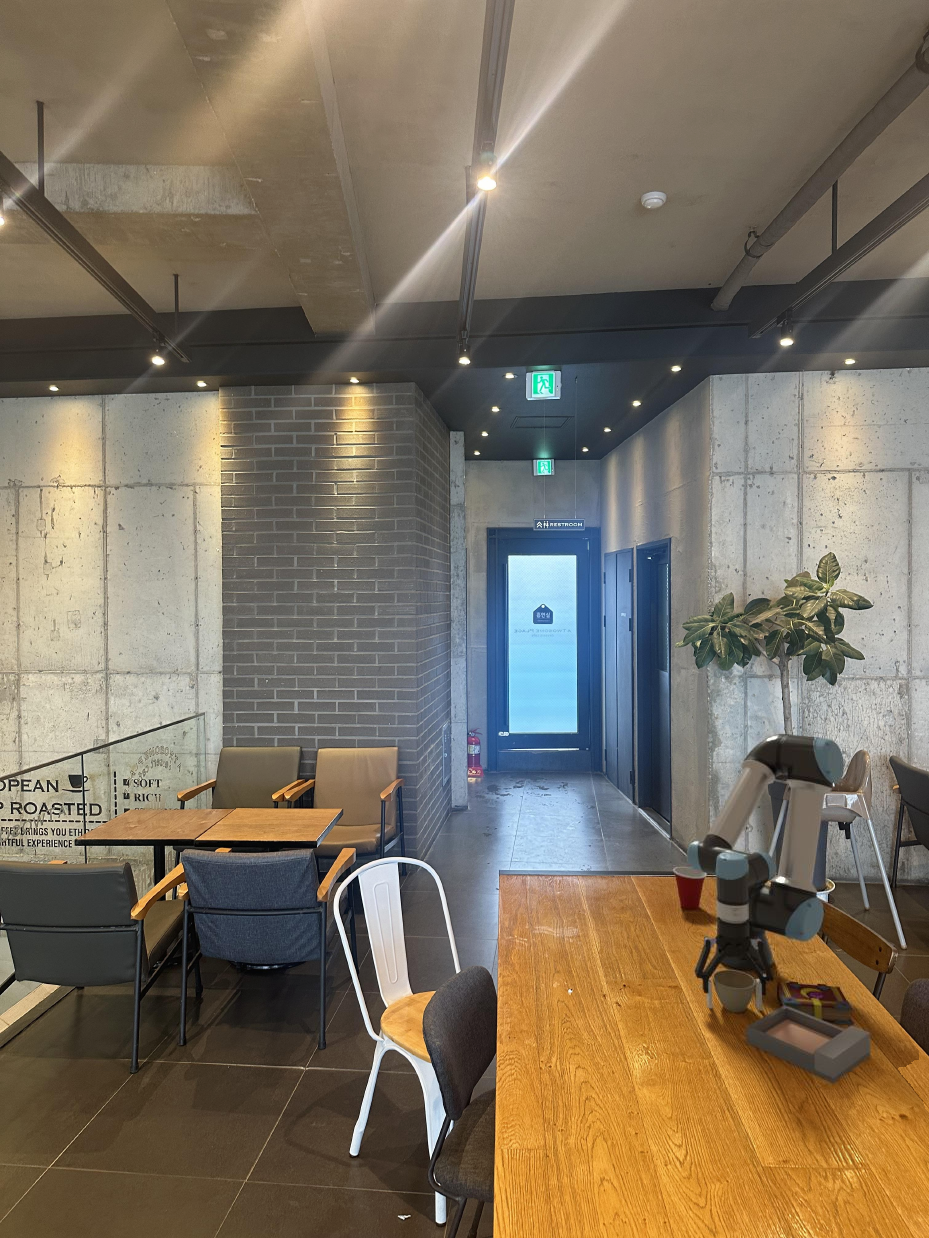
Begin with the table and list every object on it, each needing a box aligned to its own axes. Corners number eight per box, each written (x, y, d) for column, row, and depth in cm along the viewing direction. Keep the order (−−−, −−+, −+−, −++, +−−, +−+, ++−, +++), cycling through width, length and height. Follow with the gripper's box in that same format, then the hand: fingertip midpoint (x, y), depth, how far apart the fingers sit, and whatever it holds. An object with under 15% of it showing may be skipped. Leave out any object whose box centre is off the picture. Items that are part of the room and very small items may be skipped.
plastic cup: (711, 912, 256) (711, 875, 256) (678, 912, 256) (677, 876, 256) (702, 900, 267) (701, 865, 267) (670, 900, 267) (669, 865, 267)
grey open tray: (784, 1019, 188) (784, 998, 188) (870, 1055, 172) (869, 1032, 172) (746, 1042, 178) (746, 1020, 178) (833, 1082, 162) (833, 1058, 162)
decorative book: (776, 998, 199) (775, 978, 199) (844, 1003, 195) (844, 983, 195) (784, 1021, 188) (784, 1000, 188) (857, 1027, 184) (857, 1006, 184)
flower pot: (711, 1013, 191) (711, 984, 191) (714, 995, 200) (714, 967, 200) (755, 1020, 187) (754, 990, 187) (756, 1001, 197) (756, 972, 197)
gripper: (686, 922, 192) (687, 1011, 192) (786, 925, 189) (788, 1016, 189) (681, 910, 199) (683, 997, 199) (778, 913, 196) (779, 1001, 196)
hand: (734, 1006), depth 194 cm, fingers open, 11 cm apart
